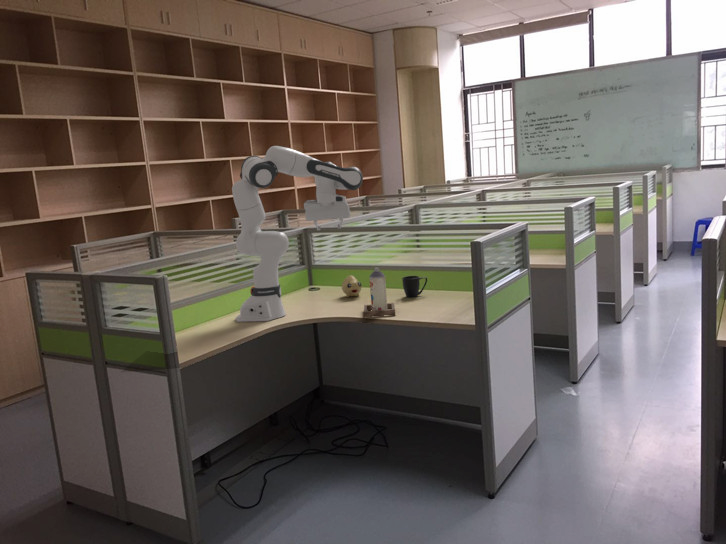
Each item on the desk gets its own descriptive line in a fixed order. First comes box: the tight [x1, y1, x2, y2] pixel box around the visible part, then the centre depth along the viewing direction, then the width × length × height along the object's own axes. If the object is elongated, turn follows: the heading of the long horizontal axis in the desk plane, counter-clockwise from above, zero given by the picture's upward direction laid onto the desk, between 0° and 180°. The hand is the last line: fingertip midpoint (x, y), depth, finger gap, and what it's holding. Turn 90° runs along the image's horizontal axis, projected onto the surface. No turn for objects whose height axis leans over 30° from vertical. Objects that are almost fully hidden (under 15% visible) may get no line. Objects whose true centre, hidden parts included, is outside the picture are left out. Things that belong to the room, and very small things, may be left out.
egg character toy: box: [341, 274, 362, 298], centre depth 308 cm, size 10×12×11 cm
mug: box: [401, 275, 428, 299], centre depth 297 cm, size 8×12×10 cm
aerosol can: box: [369, 267, 389, 311], centre depth 268 cm, size 7×7×20 cm
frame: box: [363, 302, 396, 318], centre depth 270 cm, size 13×13×2 cm
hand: (329, 229), depth 278 cm, fingers open, 8 cm apart
